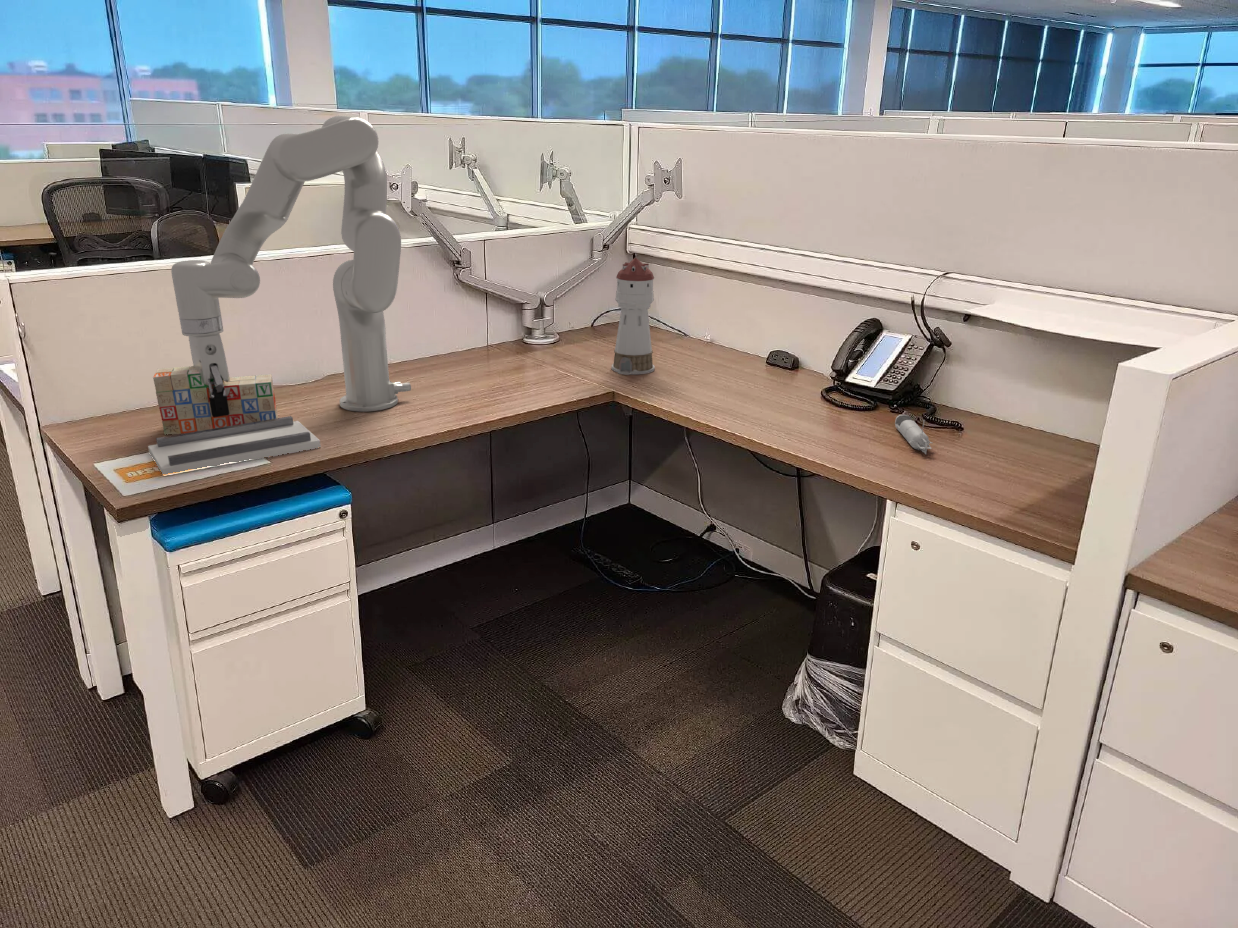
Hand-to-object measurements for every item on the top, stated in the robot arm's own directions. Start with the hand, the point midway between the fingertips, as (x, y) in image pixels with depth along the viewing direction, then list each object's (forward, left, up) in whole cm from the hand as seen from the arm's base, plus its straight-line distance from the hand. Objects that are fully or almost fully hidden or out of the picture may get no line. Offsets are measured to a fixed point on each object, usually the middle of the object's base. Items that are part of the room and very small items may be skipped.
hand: (216, 409), depth 183 cm
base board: (0, +16, -4) cm, 16 cm away
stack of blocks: (-1, 0, -4) cm, 4 cm away
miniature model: (-100, +8, -4) cm, 100 cm away
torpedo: (-117, +83, -4) cm, 143 cm away
